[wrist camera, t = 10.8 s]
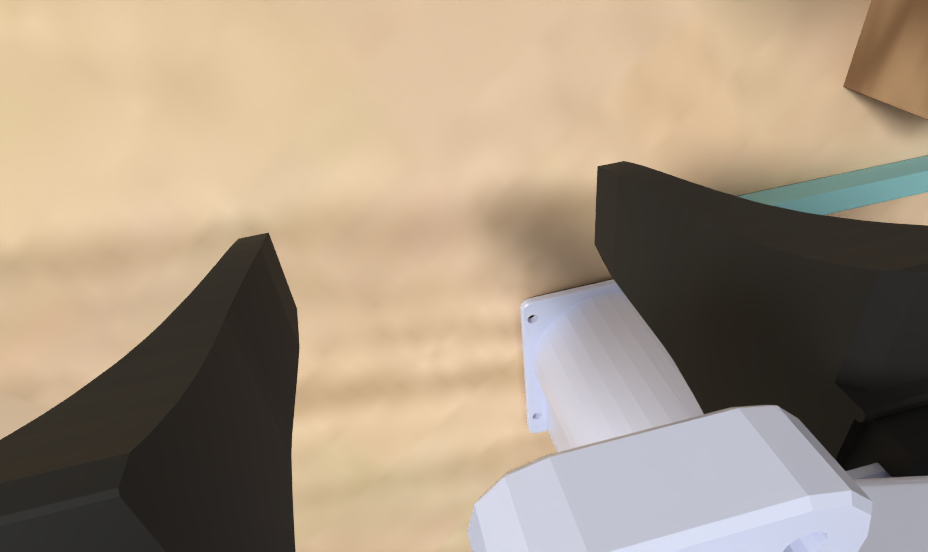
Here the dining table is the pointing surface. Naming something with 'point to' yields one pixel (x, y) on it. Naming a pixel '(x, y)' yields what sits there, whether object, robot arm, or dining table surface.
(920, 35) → the walnut block
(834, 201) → the frame
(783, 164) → the dining table surface
